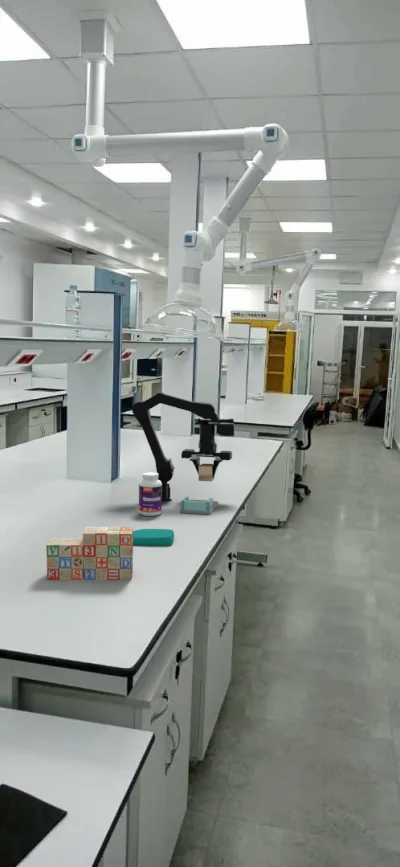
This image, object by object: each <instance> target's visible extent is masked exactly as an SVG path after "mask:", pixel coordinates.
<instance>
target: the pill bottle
mask: <svg viewBox="0 0 400 867" xmlns="http://www.w3.org/2000/svg"><path fill="white" fill-rule="evenodd" d="M162 505H163V502H162V482H161V481H160V480H158V473H157V472H149V471H148V472H144V473H142V479H140V481H139V482H138V513H139V514H140V515H142V516H144V517H155V516H159V515H160V514H162V512H163V508H162V507H163V506H162Z"/></svg>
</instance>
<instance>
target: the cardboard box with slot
mask: <svg viewBox="0 0 400 867" xmlns="http://www.w3.org/2000/svg"><path fill="white" fill-rule="evenodd" d="M215 476H216V475H215ZM215 476H214V477H213V463H200V466H199V475H198V482H210V483H211V482H213V481H214V480H215Z"/></svg>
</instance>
